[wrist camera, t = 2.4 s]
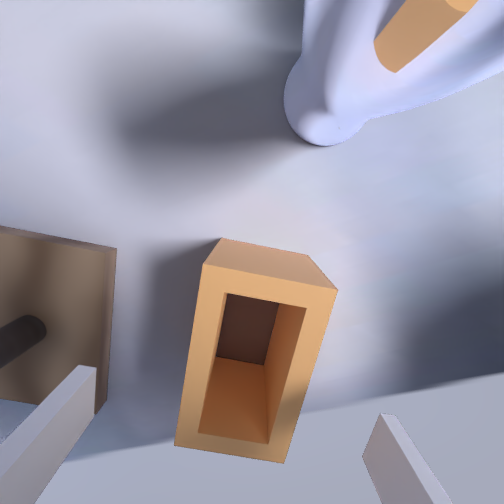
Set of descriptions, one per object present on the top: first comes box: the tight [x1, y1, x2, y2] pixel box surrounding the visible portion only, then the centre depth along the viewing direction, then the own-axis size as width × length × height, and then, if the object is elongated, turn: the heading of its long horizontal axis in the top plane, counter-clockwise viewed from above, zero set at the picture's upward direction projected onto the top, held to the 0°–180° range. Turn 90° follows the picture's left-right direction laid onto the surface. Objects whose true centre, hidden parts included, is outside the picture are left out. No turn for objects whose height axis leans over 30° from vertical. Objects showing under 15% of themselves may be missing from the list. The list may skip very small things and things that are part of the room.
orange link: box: [174, 238, 338, 463], centre depth 17 cm, size 12×7×7 cm, turn 169°
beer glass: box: [284, 0, 504, 146], centre depth 9 cm, size 7×7×15 cm
